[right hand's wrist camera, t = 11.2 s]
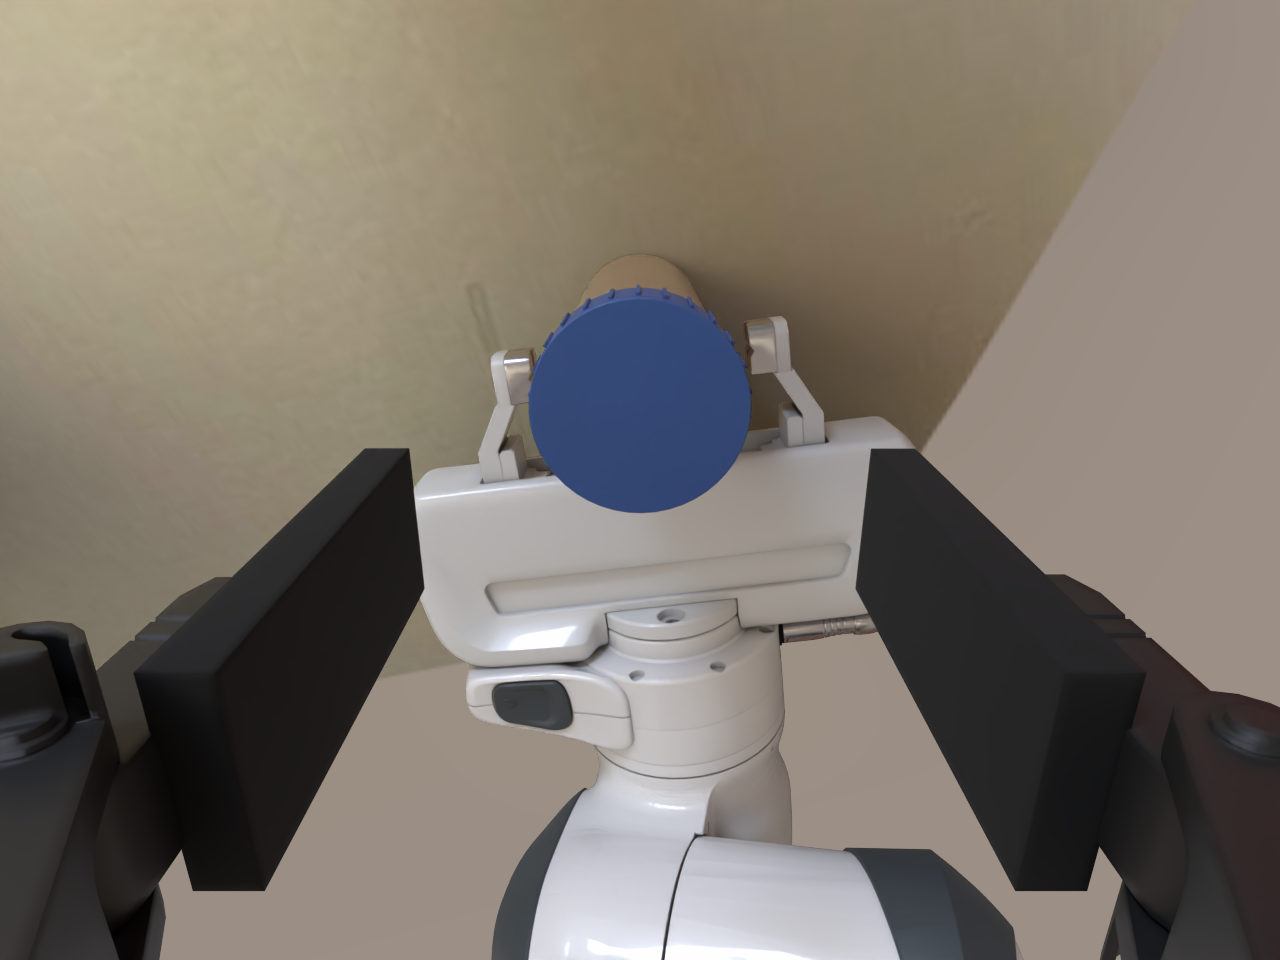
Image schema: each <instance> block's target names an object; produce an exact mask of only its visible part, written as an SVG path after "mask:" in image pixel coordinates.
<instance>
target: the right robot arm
mask: <svg viewBox="0 0 1280 960" xmlns="http://www.w3.org/2000/svg"><path fill="white" fill-rule="evenodd" d="M424 589H425V587H424V578H423V569H422V560H421V551H420V542H419V533H418V524H417V515H416V506H415V497H414V488H413V479H412V470H411V461H410V452H409V448H365V449H364V450H363V451H362V452H361V453H360V454H359V455H358V456H357V457H356V458H355V459H354V460H353V461H352V462H351V463H350V464H349V465H347V466H346V467H345V468H344V469H343V470H342V471H341V472H340V473H339V474H338V475H337V476H336V477H335V478H334V479H333V480H332V481H331V482H330V483H329V484H328V485H327V486H326V487H325V488H324V489H323V490H322V491H321V492H320V493H319V494H318V495H316V496H315V497H314V498H313V499H312V500H311V501H310V502H309V503H308V504H307V505H306V506H305V507H304V508H303V509H302V510H301V511H300V512H299V513H298V514H297V515H296V516H295V517H294V518H293V519H292V520H291V521H290V522H289V523H288V524H287V525H285V526H284V527H283V528H282V529H281V530H280V531H279V532H278V533H277V534H276V535H275V536H274V537H273V538H272V539H271V540H270V541H269V542H268V543H267V544H266V545H265V546H264V547H263V548H262V549H261V550H260V551H259V552H258V553H257V554H255V555H254V556H253V557H252V558H251V559H250V560H249V561H248V562H247V563H246V564H245V565H244V566H243V567H242V568H241V569H240V570H239V571H238V572H237V573H236V574H235V575H234V576H233V577H215V578H213V579H211V580H209V581H208V582H206V583H204V584H202V585H200V586H198V587H196V588H194V589H192V590H190V591H188V592H186V593H185V594H183V595H181V596H179V597H178V598H177V599H176V600H175V601H174V602H173V603H171V604H170V605H169V606H168V607H167V608H166V609H165V610H164V611H163V612H161V613H160V614H159V615H158V616H157V617H156V621H155V622H150V623H149V624H148V625H147V626H146V627H145V628H144V629H143V630H141V631H140V632H139V633H138V634H137V635H136V636H135V641H129V642H128V643H127V644H126V645H125V646H124V647H122V648H121V649H120V650H119V651H118V652H117V653H116V654H115V655H114V656H112V657H111V658H110V659H109V660H108V661H107V662H106V663H105V664H104V665H102V666H101V667H100V668H99V669H98V670H97V671H96V669H95V666H94V663H93V659H92V656H91V652H90V649H89V646H88V642H87V639H86V635H85V632H84V631H83V630H82V629H80V628H78V627H77V626H75V625H73V624H72V623H63V622H54V621H43V622H33V623H22V624H16V625H12V626H8V627H4V628H0V960H159V958H160V951H161V945H162V938H163V932H164V925H165V919H166V916H165V909H164V902H163V898H162V894H161V891H160V887H159V884H158V883H159V881H160V880H161V878H162V877H163V875H164V874H165V872H166V871H167V870H168V868H169V867H170V865H171V864H172V862H173V861H174V859H175V858H176V856H177V855H178V854H179V852H180V851H181V849H182V853H183V856H184V860H185V864H186V867H187V871H188V875H189V878H190V882H191V885H192V889H193V891H265V889H266V887H267V885H268V883H269V882H270V880H271V878H272V876H273V874H274V872H275V870H276V868H277V867H278V865H279V863H280V861H281V859H282V857H283V855H284V853H285V852H286V850H287V848H288V846H289V844H290V842H291V840H292V838H293V836H294V835H295V833H296V831H297V829H298V827H299V825H300V823H301V821H302V819H303V818H304V816H305V814H306V812H307V810H308V808H309V806H310V804H311V802H312V801H313V799H314V797H315V795H316V793H317V791H318V789H319V787H320V785H321V784H322V782H323V780H324V778H325V776H326V774H327V772H328V770H329V768H330V767H331V765H332V763H333V761H334V759H335V757H336V755H337V753H338V752H339V749H340V748H341V746H342V744H343V742H344V740H345V738H346V736H347V734H348V733H349V731H350V729H351V727H352V725H353V723H354V721H355V719H356V718H357V716H358V714H359V712H360V710H361V708H362V706H363V704H364V702H365V701H366V699H367V697H368V695H369V693H370V691H371V689H372V687H373V685H374V684H375V682H376V680H377V678H378V676H379V674H380V672H381V670H382V668H383V667H384V665H385V663H386V661H387V659H388V657H389V655H390V653H391V652H392V650H393V648H394V646H395V644H396V642H397V640H398V638H399V636H400V635H401V633H402V631H403V629H404V627H405V625H406V623H407V621H408V619H409V618H410V616H411V614H412V612H413V610H414V608H415V606H416V604H417V602H418V601H419V599H420V597H421V595H422V593H423V591H424ZM855 589H856V591H857V593H858V595H859V597H860V599H861V601H862V602H863V604H864V606H865V608H866V610H867V612H868V614H869V616H870V618H871V619H872V621H873V623H874V625H875V627H876V629H877V631H878V633H879V635H880V636H881V638H882V640H883V642H884V644H885V646H886V648H887V650H888V652H889V653H890V655H891V657H892V659H893V661H894V663H895V665H896V667H897V668H898V670H899V672H900V674H901V676H902V678H903V680H904V682H905V684H906V685H907V687H908V689H909V691H910V693H911V695H912V697H913V699H914V700H915V702H916V704H917V706H918V708H919V710H920V712H921V714H922V716H923V718H924V719H925V721H926V723H927V725H928V727H929V729H930V731H931V733H932V734H933V736H934V738H935V740H936V742H937V744H938V746H939V748H940V750H941V752H942V753H943V755H944V757H945V759H946V761H947V763H948V765H949V767H950V768H951V770H952V772H953V774H954V776H955V778H956V780H957V782H958V784H959V785H960V787H961V789H962V791H963V793H964V795H965V797H966V799H967V801H968V802H969V804H970V806H971V808H972V810H973V812H974V814H975V816H976V818H977V819H978V821H979V823H980V825H981V827H982V829H983V831H984V833H985V835H986V836H987V838H988V840H989V842H990V844H991V846H992V848H993V850H994V852H995V853H996V855H997V857H998V859H999V861H1000V863H1001V865H1002V867H1003V869H1004V870H1005V872H1006V874H1007V876H1008V878H1009V880H1010V882H1011V884H1012V885H1013V887H1014V889H1015V891H1087V889H1088V886H1089V882H1090V878H1091V875H1092V871H1093V867H1094V864H1095V860H1096V856H1097V853H1098V849H1099V846H1100V848H1101V849H1102V851H1103V852H1104V854H1105V855H1106V856H1107V858H1108V859H1109V861H1110V862H1111V864H1112V865H1113V867H1114V868H1115V870H1116V871H1117V872H1118V874H1119V875H1120V877H1121V878H1122V880H1123V881H1122V884H1121V888H1120V891H1119V894H1118V898H1117V901H1116V905H1115V908H1114V911H1113V915H1112V918H1111V922H1110V925H1109V928H1108V932H1107V935H1106V939H1105V942H1104V945H1103V949H1102V952H1101V958H1100V960H1115V959H1116V956H1118V955H1121V960H1280V707H1278V706H1275V705H1273V704H1271V703H1268V702H1264V701H1261V700H1257V699H1254V698H1250V697H1247V696H1243V695H1240V694H1233V693H1225V692H1216V691H1210V690H1209V689H1208V688H1207V687H1205V686H1204V685H1203V684H1202V683H1201V682H1200V681H1199V680H1198V679H1197V678H1195V677H1194V676H1193V675H1192V674H1191V673H1190V672H1189V671H1188V670H1186V669H1185V668H1184V667H1183V666H1182V665H1181V664H1180V663H1179V662H1177V661H1176V660H1175V659H1174V658H1173V657H1172V656H1171V655H1170V654H1168V653H1167V652H1166V651H1165V650H1164V649H1163V648H1162V647H1161V646H1160V645H1158V644H1157V643H1156V642H1155V641H1154V640H1153V639H1152V638H1146V636H1145V634H1146V633H1145V632H1144V631H1143V630H1142V629H1140V628H1139V627H1138V626H1137V625H1136V624H1135V623H1134V622H1133V621H1131V620H1130V619H1125V614H1124V613H1122V612H1121V611H1120V610H1119V609H1118V608H1117V607H1116V606H1115V605H1114V604H1112V603H1111V602H1110V601H1109V600H1108V599H1107V598H1106V597H1104V596H1103V595H1102V594H1101V593H1100V592H1098V591H1096V590H1094V589H1092V588H1090V587H1088V586H1086V585H1084V584H1082V583H1080V582H1078V581H1076V580H1074V579H1072V578H1071V577H1069V576H1067V575H1045V574H1044V573H1043V572H1042V571H1041V570H1040V569H1039V568H1038V567H1037V566H1036V565H1035V564H1034V563H1033V562H1032V561H1031V560H1030V559H1029V558H1028V557H1027V556H1026V555H1024V554H1023V553H1022V552H1021V551H1020V550H1019V549H1018V548H1017V547H1016V546H1015V545H1014V544H1013V543H1012V542H1011V541H1010V540H1009V539H1008V538H1007V537H1006V536H1005V535H1004V534H1003V533H1002V532H1001V531H1000V530H999V529H998V528H997V527H996V526H995V525H993V524H992V523H991V522H990V521H989V520H988V519H987V518H986V517H985V516H984V515H983V514H982V513H981V512H980V511H979V510H978V509H977V508H976V507H975V506H974V505H973V504H972V503H971V502H970V501H969V500H968V499H967V498H966V497H965V496H964V495H962V494H961V493H960V492H959V491H958V490H957V489H956V488H955V487H954V486H953V485H952V484H951V483H950V482H949V481H948V480H947V479H946V478H945V477H944V476H943V475H942V474H941V473H940V472H939V471H938V470H937V469H936V468H934V466H932V465H931V464H930V463H929V462H928V461H927V460H926V459H925V458H924V457H923V456H922V455H921V454H920V453H919V452H918V451H917V450H916V449H915V448H871V452H870V461H869V470H868V479H867V488H866V497H865V506H864V515H863V524H862V533H861V542H860V551H859V560H858V569H857V578H856V587H855Z"/></svg>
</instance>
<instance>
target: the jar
mask: <svg viewBox="0 0 1280 960" xmlns="http://www.w3.org/2000/svg"><path fill="white" fill-rule="evenodd" d="M636 285H640V288H654V289H659V290H662V289H663V287H664V288H667V291H668V292H671V293H674V294H677V295H680V296H682V297H684V298H687V297H688V296H689V297H691V299H692V301H693V302H694V303H695V304H697V305H698V306H700V307H701V308H703V309H704V307H703V305H702V303H701V302H700V300H699V298H698V296H697V294H696V292H695V290H694V288H693V286H692V284H691V282H690V281H689V279H688V278H687V277H686V276H685V274H684V273H683V272H682V271H681V270H680V269H679V268H677V267H676V266H675V265H673V264H672V263H670V262H668V261H666V260H664V259H662V258H659V257H656V256H652V255H646V254H634V255H628V256H623V257H621V258H618V259H615V260H614V261H612V262H610V263H608V264H607V265H605V266H604V267H603V268H601V269H600V270H599V271H598V272H597V273H596V274H595V276H594V277H593V278H592V279H591V281H590V282H589V284H588V286H587V288H586V290H585V292H584V294H583V295H582V297H581V299H580V301H579V303H578V305H577V307H576V309H578V308H579V307H580V306H582V305H583V304H584V303H585V301H586V299H587V298H590V299H591V300H592V299H594V298H596V297H598V296H600V295H603V294H606V293H608V292H610V289H612V288H614V289H615V291H616V290H621V289H626V288H636ZM576 309H575V310H576ZM704 310H705V309H704Z"/></svg>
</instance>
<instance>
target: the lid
mask: <svg viewBox="0 0 1280 960" xmlns="http://www.w3.org/2000/svg"><path fill="white" fill-rule="evenodd" d="M734 344H735V342H734V340H733V339H732V337H731V335H730V334H729V332H728V331H727V330H726V331H724V330H723V329H722V327H721V326H720V325H719V324H718V323H717V321H716V319H715V317H714V315H713V313H712V312H711V311H709V312H708V313H707V312H706V311H705V310H704V309H703V308H701V307H700V306H698V305H697V304H695V303H694V302H693V301H692V299H691V297H689V296H688V297H687V298H684V297H682V296H680V295H677V294H674V293H671V292H668V291H667V288H664V287H663V289H662V290H659V289H654V288H640V285H636V288H626V289H621V290H616V291H615V289H614V288H612V289H610V292H608V293H606V294H603V295H600V296H598V297H596V298H594V299H592V300H591V299H590V298H587V299H586V301H585V303H584V304H583V305H582V306H580V307H579V308H578V309H576V310H575V311H574V312H573V313H572V314H569V313H567V314H566V315H565V317H564V319H563V321H562V322H561V324H560V326H559V328H558V329H557V330H556V331H555V333H552V332H551V334H550V335H549V337H548V339H547V340H546V342H545V344H544V345H543V346H544V347H545V350H544V352H543V354H542V355H540V357H539V358H538V360H537V362H536V363H535V365H534V367H533V370H532V371H534V375H533V378H532V382H531V386H530V391H529V392H528V397H529V418H530V425H531V429H532V433H533V437H534V440H535V443H536V445H537V447H538V450H539V452H540V454H541V456H542V457H543V459H544V461H545V462H546V464H547V466H548V467H549V468H550V469H551V471H552V472H553V473H554V475H555V476H556V477H557V478H558V479H559V480H560V481H561V482H562V483H563V484H564V485H565V486H567V487H568V488H569V489H571V490H572V491H573V492H574V493H576V494H577V495H579V496H581V497H582V498H584V499H586V500H587V501H589V502H592V503H594V504H596V505H599V506H601V507H604V508H608V509H611V510H615V511H621V512H627V513H652V512H659V511H664V510H669V509H672V508H675V507H678V506H682V505H684V504H686V503H688V502H690V501H692V500H695V499H696V498H698V497H699V496H701V495H703V494H704V493H706V492H707V491H708V490H710V489H711V488H712V487H713V486H714V485H716V484H717V483H718V482H719V481H720V480H721V479H722V478H723V477H724V476H725V474H726V473H727V472H728V471H729V469H730V468H731V467H732V465H733V464H734V463H735V461H736V459H737V457H738V455H739V454H740V452H741V450H742V447H743V445H744V442H745V440H746V437H747V433H748V429H749V425H750V419H751V394H752V390H751V388H750V386H749V381H748V378H747V375H746V372H745V368H747V367H746V364H745V362H744V361H743V359H742V357H741V355H740V354H739V352H738V353H737V352H736V350H735V348H734V346H733V345H734Z"/></svg>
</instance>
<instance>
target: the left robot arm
mask: <svg viewBox="0 0 1280 960" xmlns="http://www.w3.org/2000/svg"><path fill="white" fill-rule="evenodd" d="M743 336H744V338H745V339H746V341H747V344H746V346H745V347H744V350H745V362H746V366H747V368H749V371H750V373H751V374H752V375H754V374H764V373H774V375H775V376H776V378H777V379H778V381H779V382H780V383H781V385H782V386H783V388H784V389H785V390H786V392H787V393H788V395H789V396H790V398H791V399H792V403H791V402H781V403H780V404H779V405H778V419H779V427H778V428H770V429H762V430H753V431H748V433H747V437H746V440H745V442H744V445H743V447H742V450H741V452H740V454H739V455H738V457H737V459H736V461H735V463H734V464H733V465H732V467H731V468H730V469H729V471H728V472H727V473H726V474H725V476H724V477H723V478H722V479H721V480H720V481H719V482H718V483H717V484H716V485H714V486H713V487H712V488H711V489H710V490H708V491H707V492H706V493H704V494H703V495H701V496H699V497H698V498H696V499H695V500H692V501H690V502H688V503H686V504H684V505H682V506H678V507H675V508H672V509H669V510H664V511H659V512H652V513H627V512H621V511H615V510H611V509H608V508H604V507H601V506H599V505H596V504H594V503H592V502H589V501H587V500H586V499H584V498H582V497H581V496H579V495H577V494H576V493H574V492H573V491H572V490H571V489H569V488H568V487H567V486H565V485H564V484H563V483H562V482H561V481H560V480H559V479H558V478H557V477H556V476H555V475H554V473H553V472H552V471H551V469H550V468H549V467H548V466H547V464H546V462H545V461H544V459H543V457H542V456H537V457H528V458H526V455H525V450H524V445H523V441H522V436H520V435H519V434H518V435H510V436H509V437H508V438H507V433H508V430H509V428H510V425H511V422H512V419H513V417H514V414H515V411H516V409H517V406H518V404H521V403H528V402H529V397H528V392H529V391H530V386H531V382H532V378H533V375H534V371H532V370H533V367H534V365H535V363H536V362H537V359H536V354H535V350H534V348H524V349H515V350H505V351H499V352H495V353H494V355H493V356H492V357H491V372H492V377H493V382H494V387H495V392H496V397H497V405H496V407H495V409H494V412H493V414H492V417H491V420H490V422H489V425H488V428H487V431H486V433H485V436H484V439H483V441H482V444H481V447H480V450H479V452H478V457H479V462H480V463H479V464H470V465H462V466H454V467H445V468H437V469H433V470H430V471H429V472H427V473H426V474H425V475H424V476H423V477H422V478H421V480H420V481H419V482H418V483H417V484H416V486H415V487H414V497H415V506H416V515H417V524H418V533H419V542H420V551H421V560H422V569H423V578H424V587H425V589H424V591H423V593H422V595H421V597H420V600H421V603H422V605H423V608H424V610H425V612H426V615H427V617H428V619H429V622H430V624H431V626H432V628H433V630H434V632H435V634H436V635H437V637H438V639H439V640H440V642H441V643H442V644H443V645H444V647H445V648H446V649H447V650H448V651H449V652H450V653H452V654H453V655H454V656H455V657H457V658H459V659H460V660H462V661H464V662H466V663H469V664H470V665H469V669H468V675H467V682H466V699H467V704H468V707H469V710H470V712H471V714H472V715H473V716H474V717H475V718H476V719H478V720H480V721H482V722H485V723H489V724H494V725H500V726H506V727H513V728H520V729H526V730H532V731H538V732H543V733H549V734H553V735H558V736H563V737H567V738H571V739H575V740H579V741H583V742H586V743H590V744H593V745H594V747H595V749H596V752H597V755H598V759H599V772H598V776H597V780H596V783H595V785H594V786H593V787H592V788H591V789H587V788H584V789H582V790H581V791H580V792H578V793H577V794H576V795H575V796H574V797H573V798H572V799H571V800H570V801H569V802H568V803H567V804H566V805H565V806H564V807H563V808H562V809H561V810H560V812H559V813H558V814H557V815H556V816H555V817H554V819H553V820H552V821H551V822H550V823H549V824H548V826H547V827H546V828H545V829H544V830H543V832H542V833H541V834H540V835H539V836H538V837H537V838H536V840H535V841H534V842H533V843H532V844H531V846H530V847H529V849H528V850H527V851H526V853H525V854H524V856H523V857H522V859H521V860H520V862H519V864H518V866H517V867H516V869H515V871H514V873H513V875H512V877H511V880H510V882H509V885H508V887H507V889H506V892H505V895H504V897H503V900H502V902H501V905H500V909H499V912H498V915H497V920H496V924H495V930H494V936H493V945H492V960H1023V957H1022V955H1021V952H1020V949H1019V947H1018V945H1017V943H1016V941H1015V936H1014V930H1013V927H1012V926H1011V925H1010V923H1009V922H1008V921H1007V920H1006V919H1005V918H1004V916H1003V915H1002V914H1001V913H1000V912H999V911H998V910H997V909H996V908H995V906H994V905H993V904H992V903H991V902H990V901H989V900H988V899H987V898H986V897H985V896H984V895H983V894H982V893H981V892H980V891H979V890H978V889H977V888H976V887H975V886H974V885H973V884H971V883H970V882H969V881H968V880H967V879H966V878H965V877H963V876H962V875H961V874H960V873H959V872H958V871H957V870H955V869H954V868H953V867H952V866H951V865H949V864H948V863H947V862H946V861H944V860H943V859H942V858H941V857H939V856H938V855H937V854H936V853H934V852H933V851H932V850H929V849H881V848H845V849H844V850H843V851H838V850H829V849H820V848H811V847H802V846H793V845H792V810H791V792H790V782H789V777H788V772H787V769H786V766H785V763H784V761H783V759H782V757H781V755H780V752H779V749H778V746H779V741H780V738H781V735H782V731H783V727H784V716H785V709H784V693H783V679H782V666H781V653H780V645H782V643H787V642H797V641H806V640H815V639H821V638H824V637H829V636H830V635H831V636H834V635H836V634H837V635H840V634H849V633H854V634H857V635H858V634H860V635H861V634H870V633H874V632H878V631H877V629H876V627H875V625H874V623H873V621H872V619H871V618H870V616H869V614H868V612H867V610H866V608H865V606H864V604H863V602H862V601H861V599H860V597H859V595H858V593H857V591H856V589H855V587H856V578H857V569H858V560H859V551H860V542H861V533H862V524H863V515H864V506H865V497H866V488H867V479H868V470H869V461H870V452H871V448H915V449H916V447H915V446H914V445H913V443H912V442H911V441H910V440H909V439H908V438H907V437H906V436H905V435H904V434H903V433H902V432H901V431H900V430H899V429H897V428H896V427H895V426H893V425H892V424H891V423H889V422H888V421H887V420H885V419H884V418H882V417H878V416H870V417H862V418H853V419H845V420H837V421H828V422H824V412H823V411H822V409H821V408H820V406H819V405H818V404H817V402H816V401H815V399H814V398H813V396H812V395H811V393H810V392H809V391H808V389H807V388H806V386H805V385H804V383H803V382H802V380H801V379H800V377H799V376H798V375H797V373H796V372H795V370H794V369H793V368H792V367H791V359H790V342H789V329H788V325H787V321H786V319H784V318H783V317H782V316H776V317H767V318H760V319H753V320H746V321H743ZM916 450H917V449H916ZM917 451H918V450H917Z"/></svg>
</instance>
